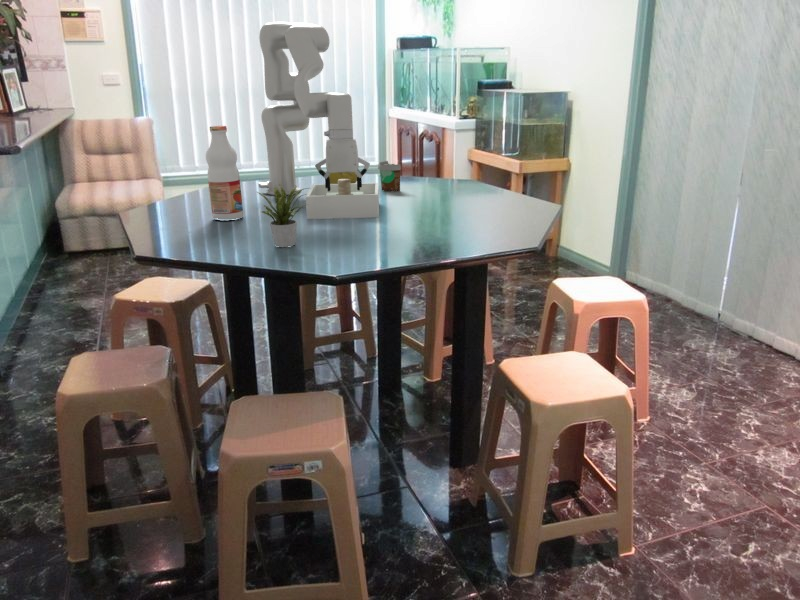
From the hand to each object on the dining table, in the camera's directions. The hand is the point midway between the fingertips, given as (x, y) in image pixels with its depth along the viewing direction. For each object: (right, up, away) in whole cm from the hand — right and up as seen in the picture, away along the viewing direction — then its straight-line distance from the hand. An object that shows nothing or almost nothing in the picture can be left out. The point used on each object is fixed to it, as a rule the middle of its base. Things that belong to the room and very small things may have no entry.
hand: (343, 190), depth 207 cm
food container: (+13, +6, +37) cm, 40 cm away
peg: (0, -6, +2) cm, 7 cm away
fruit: (-4, +6, +39) cm, 40 cm away
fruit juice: (-36, -10, -5) cm, 37 cm away
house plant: (-11, -21, -38) cm, 45 cm away
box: (0, -6, +2) cm, 7 cm away
